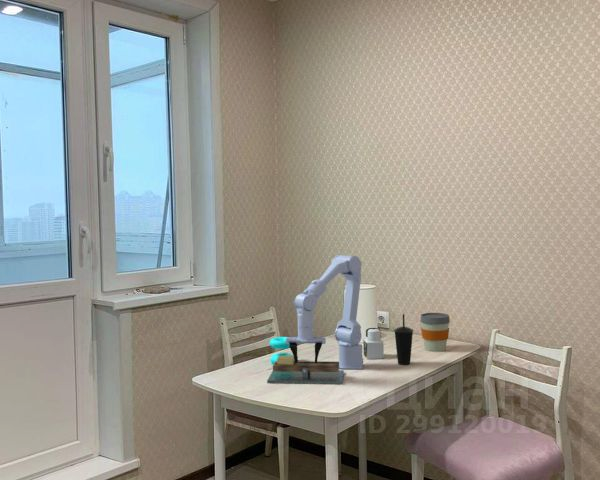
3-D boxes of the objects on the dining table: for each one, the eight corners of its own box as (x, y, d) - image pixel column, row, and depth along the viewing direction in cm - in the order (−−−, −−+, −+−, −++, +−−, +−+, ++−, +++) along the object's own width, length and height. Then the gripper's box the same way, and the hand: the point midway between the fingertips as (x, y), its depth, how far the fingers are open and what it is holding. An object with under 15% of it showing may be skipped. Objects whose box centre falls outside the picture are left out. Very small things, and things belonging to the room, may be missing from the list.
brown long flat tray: (339, 367, 212) (339, 361, 212) (338, 372, 206) (338, 366, 205) (275, 366, 215) (275, 361, 215) (272, 371, 208) (272, 365, 208)
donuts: (273, 335, 237) (296, 336, 235) (273, 359, 237) (296, 360, 235) (266, 341, 227) (291, 342, 225) (267, 365, 228) (291, 366, 226)
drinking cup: (409, 367, 221) (409, 316, 220) (391, 364, 226) (390, 314, 224) (416, 362, 228) (416, 313, 227) (398, 360, 232) (398, 311, 231)
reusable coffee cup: (453, 347, 251) (453, 314, 250) (444, 354, 240) (444, 319, 239) (426, 344, 257) (426, 311, 257) (416, 350, 247) (416, 316, 246)
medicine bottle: (363, 355, 241) (363, 327, 241) (380, 354, 242) (379, 326, 241) (366, 359, 234) (366, 330, 234) (383, 358, 235) (383, 330, 234)
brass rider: (294, 363, 213) (294, 355, 213) (293, 366, 208) (293, 358, 208) (279, 363, 214) (278, 355, 213) (277, 366, 209) (277, 358, 209)
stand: (343, 372, 216) (343, 359, 215) (342, 384, 202) (341, 370, 201) (273, 372, 219) (273, 359, 219) (267, 383, 205) (266, 369, 205)
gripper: (284, 328, 206) (285, 365, 207) (324, 328, 204) (325, 365, 205) (287, 324, 213) (288, 360, 214) (325, 324, 211) (326, 360, 212)
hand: (306, 362), depth 210 cm, fingers open, 7 cm apart
